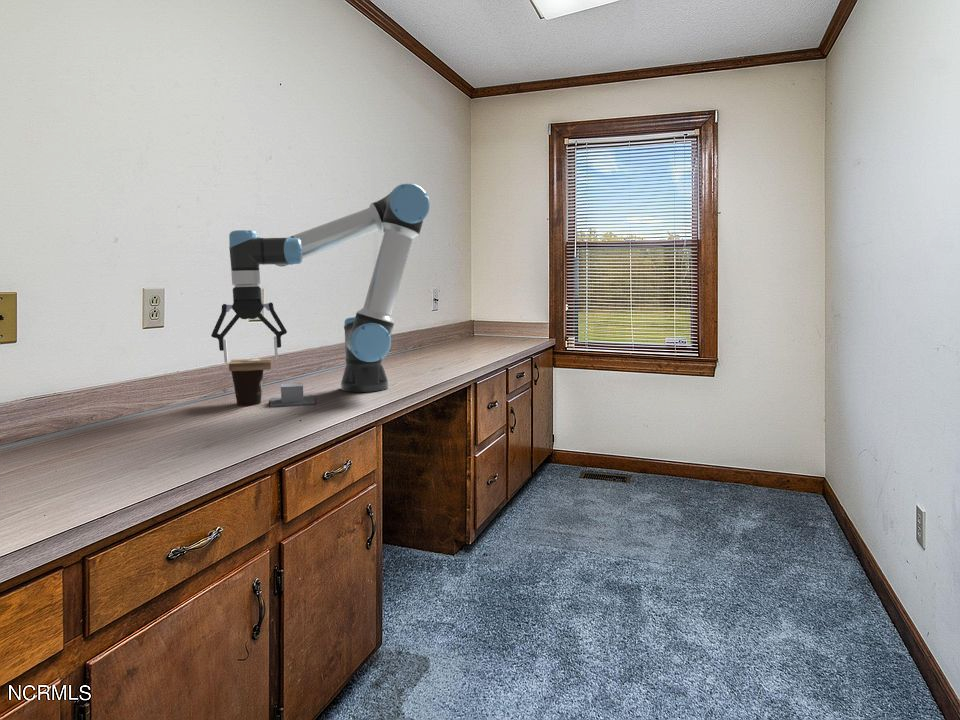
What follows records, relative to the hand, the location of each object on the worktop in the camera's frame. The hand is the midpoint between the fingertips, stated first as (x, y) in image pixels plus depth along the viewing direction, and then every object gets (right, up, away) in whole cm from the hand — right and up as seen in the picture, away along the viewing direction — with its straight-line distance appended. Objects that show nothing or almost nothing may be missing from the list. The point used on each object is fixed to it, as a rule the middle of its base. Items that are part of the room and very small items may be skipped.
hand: (251, 360), depth 185 cm
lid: (0, -2, 0) cm, 2 cm away
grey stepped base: (+11, -12, +1) cm, 17 cm away
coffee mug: (0, -12, +1) cm, 12 cm away
